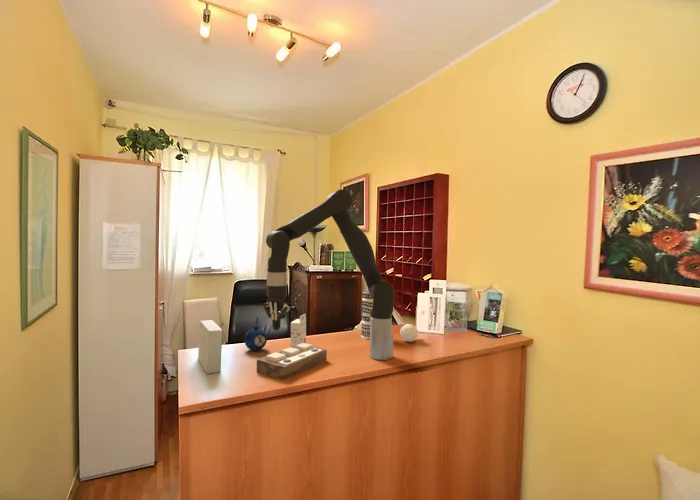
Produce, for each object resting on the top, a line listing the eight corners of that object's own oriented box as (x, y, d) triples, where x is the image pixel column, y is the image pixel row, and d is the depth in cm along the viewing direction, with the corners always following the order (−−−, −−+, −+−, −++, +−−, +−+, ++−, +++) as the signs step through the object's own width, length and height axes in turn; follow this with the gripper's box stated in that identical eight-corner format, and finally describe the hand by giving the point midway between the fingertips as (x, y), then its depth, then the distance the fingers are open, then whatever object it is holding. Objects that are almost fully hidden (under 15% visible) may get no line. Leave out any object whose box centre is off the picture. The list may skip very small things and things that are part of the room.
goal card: (322, 350, 141) (322, 349, 141) (286, 365, 124) (286, 363, 124) (314, 348, 144) (314, 347, 144) (277, 362, 126) (277, 361, 126)
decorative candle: (356, 336, 181) (357, 289, 181) (370, 333, 187) (370, 287, 187) (368, 340, 174) (368, 291, 174) (381, 337, 180) (382, 289, 179)
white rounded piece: (414, 341, 166) (425, 339, 175) (410, 322, 169) (421, 321, 178) (398, 344, 171) (410, 342, 180) (395, 325, 174) (407, 324, 183)
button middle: (299, 356, 138) (299, 349, 138) (290, 360, 134) (291, 352, 133) (290, 354, 140) (290, 347, 140) (281, 357, 136) (281, 350, 136)
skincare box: (222, 371, 129) (222, 329, 129) (206, 374, 126) (207, 331, 126) (211, 356, 147) (212, 318, 146) (197, 358, 144) (198, 320, 143)
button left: (285, 362, 131) (285, 354, 131) (275, 366, 127) (276, 358, 127) (276, 359, 134) (276, 352, 134) (266, 363, 130) (266, 355, 130)
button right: (312, 351, 144) (312, 344, 144) (304, 355, 140) (304, 347, 140) (303, 349, 147) (303, 342, 147) (295, 352, 143) (295, 345, 143)
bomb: (249, 355, 148) (250, 320, 148) (241, 349, 157) (241, 316, 156) (271, 351, 154) (271, 318, 153) (262, 345, 162) (262, 314, 162)
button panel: (326, 360, 143) (326, 349, 143) (283, 379, 122) (284, 367, 122) (300, 354, 151) (301, 344, 150) (256, 371, 130) (256, 359, 130)
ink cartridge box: (296, 342, 169) (296, 312, 168) (306, 343, 168) (306, 313, 167) (290, 347, 160) (290, 316, 160) (300, 348, 159) (300, 316, 159)
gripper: (296, 284, 129) (296, 330, 130) (271, 281, 137) (271, 325, 137) (282, 286, 123) (281, 334, 123) (257, 283, 130) (256, 328, 131)
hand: (276, 329), depth 130 cm, fingers closed
